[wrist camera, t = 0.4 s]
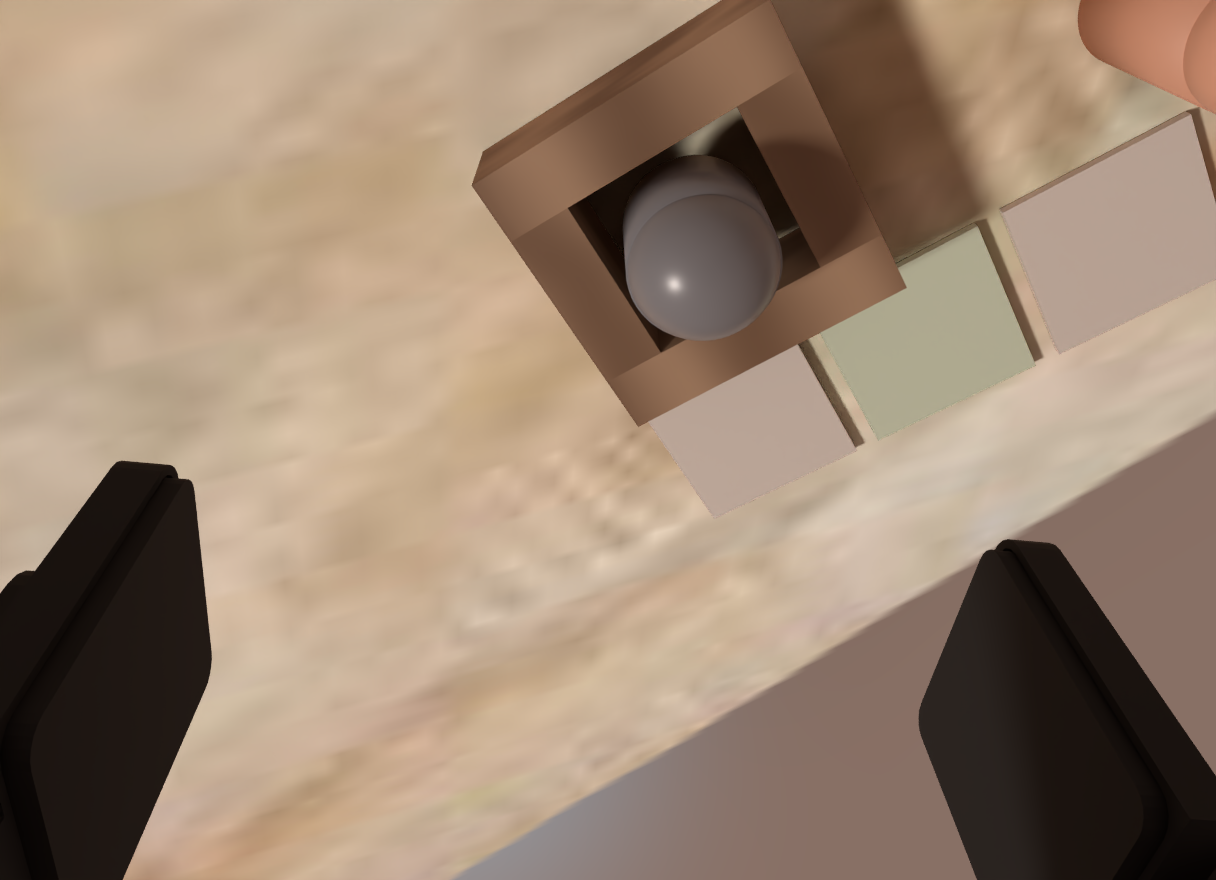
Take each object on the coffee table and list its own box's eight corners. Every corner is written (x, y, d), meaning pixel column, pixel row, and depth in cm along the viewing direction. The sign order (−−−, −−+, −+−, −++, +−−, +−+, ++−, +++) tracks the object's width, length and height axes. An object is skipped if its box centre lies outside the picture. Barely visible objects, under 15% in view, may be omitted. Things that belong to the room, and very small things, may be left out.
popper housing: (752, -19, 33) (769, -1, 30) (878, 246, 38) (907, 287, 35) (482, 151, 36) (471, 185, 33) (634, 376, 41) (638, 426, 38)
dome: (723, 126, 33) (747, 182, 28) (787, 248, 35) (820, 319, 30) (595, 202, 34) (596, 268, 29) (666, 314, 37) (677, 394, 31)
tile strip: (1185, 111, 36) (1191, 114, 35) (1229, 266, 39) (1234, 270, 38) (636, 400, 42) (636, 405, 41) (713, 513, 45) (714, 518, 45)
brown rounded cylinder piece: (1182, -88, 32) (1379, -58, 24) (1210, 25, 34) (1402, 87, 26) (1062, -18, 33) (1212, 32, 25) (1096, 87, 35) (1246, 165, 27)
